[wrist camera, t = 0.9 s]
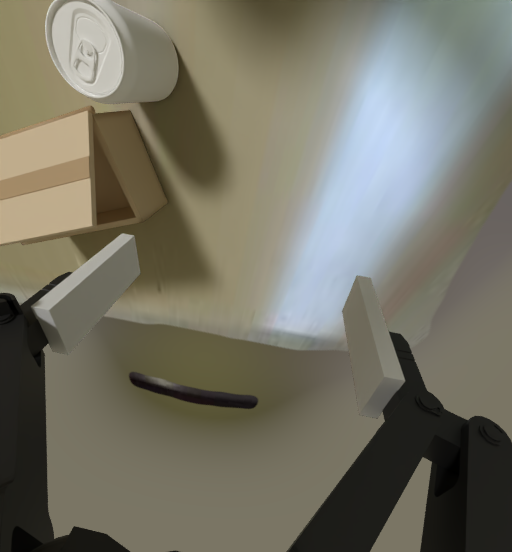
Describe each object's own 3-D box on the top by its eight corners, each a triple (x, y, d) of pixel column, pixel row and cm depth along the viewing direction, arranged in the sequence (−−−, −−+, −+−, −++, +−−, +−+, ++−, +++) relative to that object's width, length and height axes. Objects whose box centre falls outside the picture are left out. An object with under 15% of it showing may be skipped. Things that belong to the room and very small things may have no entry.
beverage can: (191, 50, 33) (142, 31, 23) (165, 115, 37) (114, 123, 27) (129, -1, 31) (46, -45, 21) (109, 74, 35) (33, 66, 25)
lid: (-40, 153, 36) (-51, 148, 35) (95, 108, 31) (86, 102, 30) (-41, 255, 35) (-52, 254, 34) (99, 228, 30) (91, 225, 29)
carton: (10, 147, 43) (-44, 157, 36) (130, 110, 37) (92, 113, 31) (60, 224, 49) (22, 245, 43) (168, 202, 44) (143, 221, 37)
